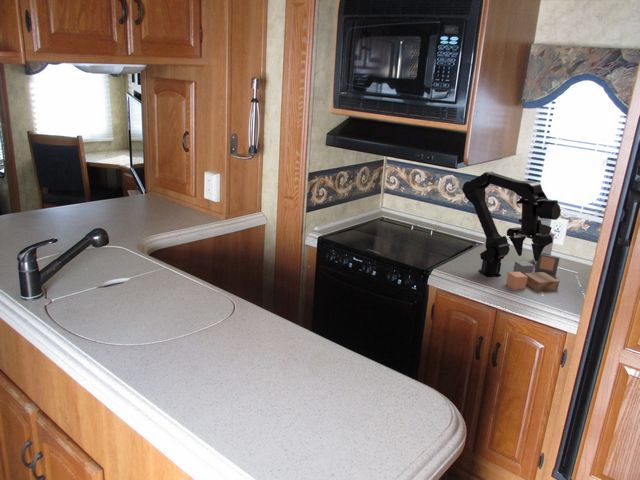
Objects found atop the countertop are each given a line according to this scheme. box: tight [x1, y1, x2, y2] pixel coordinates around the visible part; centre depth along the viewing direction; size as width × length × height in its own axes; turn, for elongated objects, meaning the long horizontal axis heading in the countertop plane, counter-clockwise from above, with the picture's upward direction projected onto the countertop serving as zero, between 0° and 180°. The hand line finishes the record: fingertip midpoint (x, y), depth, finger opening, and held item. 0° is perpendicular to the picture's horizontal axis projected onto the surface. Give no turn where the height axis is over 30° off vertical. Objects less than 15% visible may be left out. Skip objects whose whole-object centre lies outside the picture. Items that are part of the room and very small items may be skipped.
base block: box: [524, 272, 560, 293], centre depth 209 cm, size 9×9×4 cm
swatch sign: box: [533, 254, 560, 279], centre depth 221 cm, size 8×5×8 cm, turn 66°
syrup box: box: [532, 229, 556, 265], centre depth 232 cm, size 6×6×14 cm
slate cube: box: [512, 260, 535, 274], centre depth 219 cm, size 5×5×5 cm
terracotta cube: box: [505, 271, 528, 290], centre depth 207 cm, size 5×5×5 cm
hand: (527, 258), depth 204 cm, fingers open, 9 cm apart
